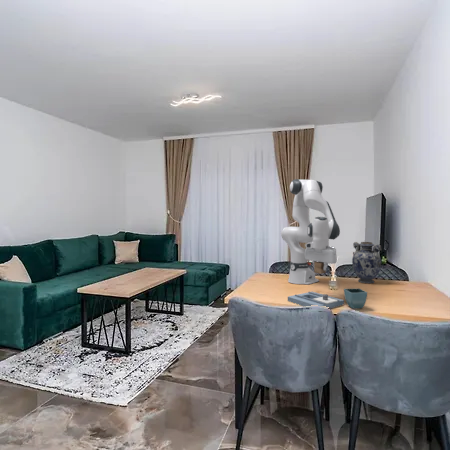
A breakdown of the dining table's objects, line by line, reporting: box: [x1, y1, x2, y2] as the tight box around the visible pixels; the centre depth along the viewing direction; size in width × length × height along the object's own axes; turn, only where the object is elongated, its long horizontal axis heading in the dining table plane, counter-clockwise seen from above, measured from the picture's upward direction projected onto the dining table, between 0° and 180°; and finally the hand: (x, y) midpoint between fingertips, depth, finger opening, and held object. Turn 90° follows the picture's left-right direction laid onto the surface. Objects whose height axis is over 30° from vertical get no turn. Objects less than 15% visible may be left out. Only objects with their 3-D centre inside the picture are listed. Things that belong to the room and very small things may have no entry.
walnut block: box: [313, 261, 327, 274], centre depth 187 cm, size 4×4×6 cm
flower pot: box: [343, 288, 368, 309], centre depth 171 cm, size 9×9×9 cm
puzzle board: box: [287, 291, 345, 309], centre depth 179 cm, size 20×22×3 cm
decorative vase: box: [351, 241, 382, 285], centre depth 229 cm, size 21×19×28 cm
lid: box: [313, 293, 338, 304], centre depth 173 cm, size 9×9×3 cm
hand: (320, 269), depth 187 cm, fingers closed on walnut block, 4 cm apart
